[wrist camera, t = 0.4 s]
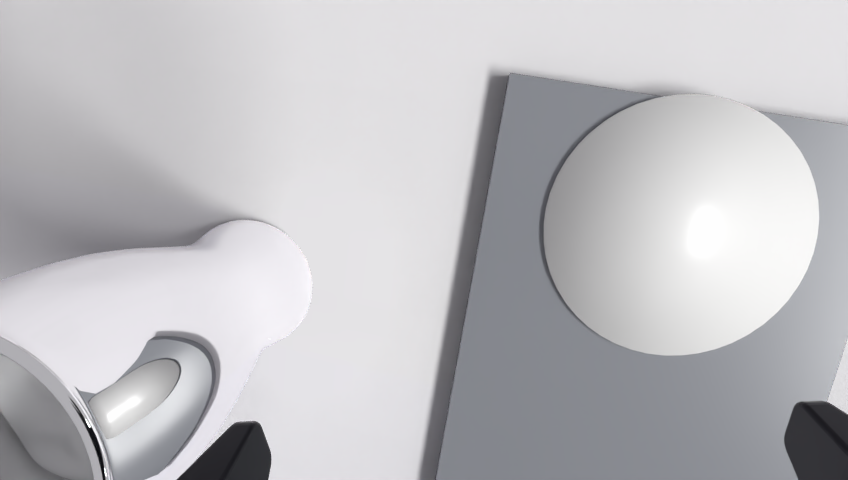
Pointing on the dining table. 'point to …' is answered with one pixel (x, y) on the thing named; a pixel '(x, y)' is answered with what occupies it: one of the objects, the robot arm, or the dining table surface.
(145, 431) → the beer glass
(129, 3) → the dining table surface
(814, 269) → the base plate
